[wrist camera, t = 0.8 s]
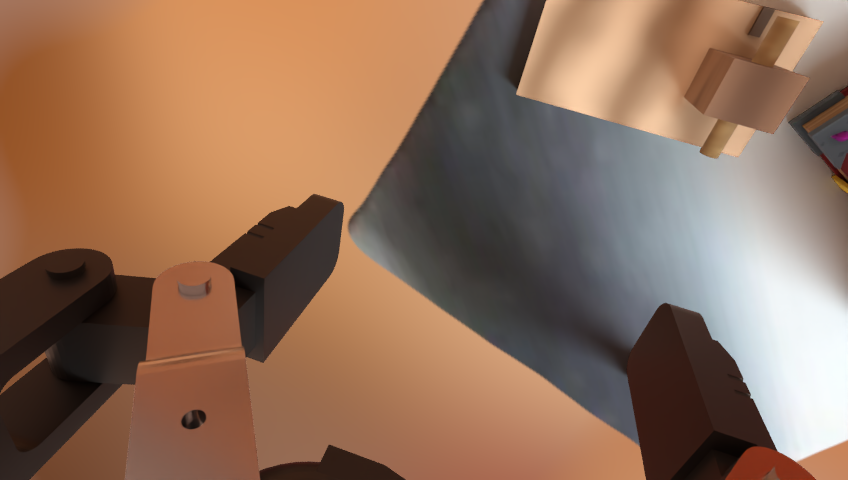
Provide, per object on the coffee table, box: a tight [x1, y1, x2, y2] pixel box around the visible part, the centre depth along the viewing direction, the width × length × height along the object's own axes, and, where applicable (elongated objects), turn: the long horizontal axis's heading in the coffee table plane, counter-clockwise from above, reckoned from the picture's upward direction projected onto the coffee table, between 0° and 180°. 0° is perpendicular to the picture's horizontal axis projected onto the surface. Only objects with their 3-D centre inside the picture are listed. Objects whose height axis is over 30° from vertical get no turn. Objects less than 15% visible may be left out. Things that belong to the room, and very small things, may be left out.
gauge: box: [684, 16, 810, 158], centre depth 34 cm, size 5×10×6 cm, turn 168°
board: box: [516, 0, 824, 157], centre depth 38 cm, size 20×11×2 cm, turn 78°
